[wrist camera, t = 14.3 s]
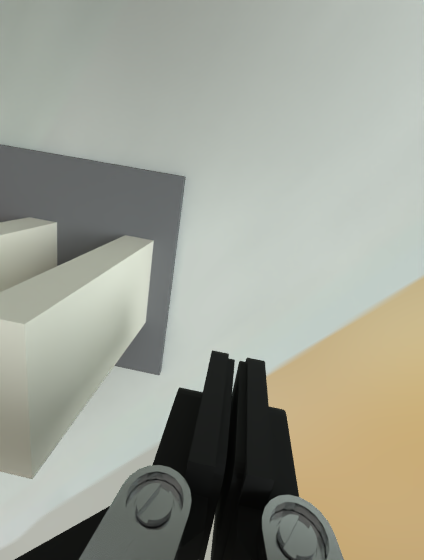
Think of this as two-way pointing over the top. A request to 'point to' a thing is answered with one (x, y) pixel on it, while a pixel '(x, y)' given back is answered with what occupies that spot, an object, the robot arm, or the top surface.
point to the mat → (101, 222)
